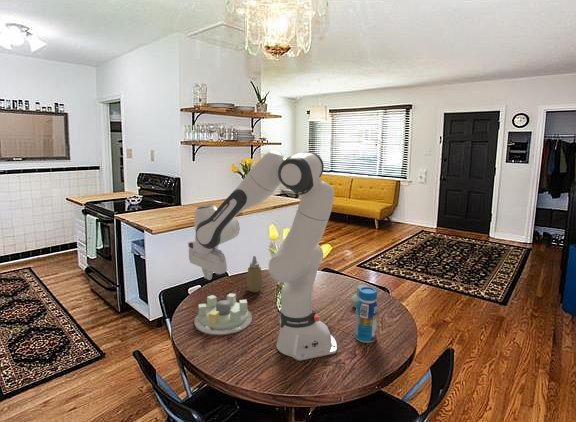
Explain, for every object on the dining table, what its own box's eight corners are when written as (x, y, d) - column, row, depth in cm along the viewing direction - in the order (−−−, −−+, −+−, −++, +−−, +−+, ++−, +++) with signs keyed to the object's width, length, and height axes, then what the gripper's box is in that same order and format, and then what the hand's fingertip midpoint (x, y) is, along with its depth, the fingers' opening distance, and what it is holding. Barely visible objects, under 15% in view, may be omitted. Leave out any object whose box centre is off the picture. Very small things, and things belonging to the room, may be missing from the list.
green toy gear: (212, 303, 168) (212, 290, 166) (254, 309, 162) (254, 296, 161) (189, 325, 148) (188, 311, 147) (236, 333, 143) (236, 318, 142)
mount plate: (250, 305, 169) (250, 300, 168) (253, 333, 146) (253, 326, 145) (197, 308, 165) (196, 303, 165) (191, 337, 142) (191, 330, 142)
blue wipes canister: (350, 334, 146) (352, 287, 142) (368, 330, 149) (371, 284, 145) (361, 345, 138) (364, 296, 134) (380, 341, 141) (384, 292, 137)
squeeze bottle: (260, 286, 191) (260, 253, 187) (264, 292, 183) (264, 258, 180) (245, 288, 188) (244, 254, 185) (248, 294, 181) (248, 259, 177)
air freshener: (349, 310, 166) (350, 289, 164) (351, 302, 174) (352, 282, 172) (374, 313, 164) (375, 292, 162) (374, 304, 172) (376, 284, 170)
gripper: (230, 249, 140) (230, 283, 143) (198, 239, 153) (199, 270, 156) (217, 253, 136) (218, 288, 138) (185, 242, 149) (186, 274, 151)
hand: (208, 278), depth 147 cm, fingers closed
